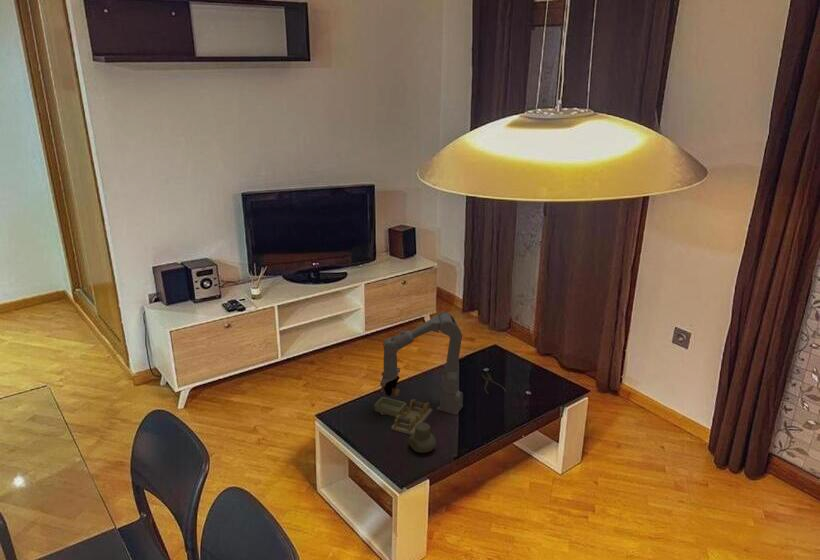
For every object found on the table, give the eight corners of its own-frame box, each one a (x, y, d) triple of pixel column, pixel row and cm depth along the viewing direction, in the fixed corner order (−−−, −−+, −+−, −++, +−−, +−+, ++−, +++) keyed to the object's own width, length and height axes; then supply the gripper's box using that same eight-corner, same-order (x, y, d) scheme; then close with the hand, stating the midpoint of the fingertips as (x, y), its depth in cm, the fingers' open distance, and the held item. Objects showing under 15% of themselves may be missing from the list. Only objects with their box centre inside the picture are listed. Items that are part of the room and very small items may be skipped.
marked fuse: (399, 394, 267) (399, 388, 266) (396, 397, 264) (396, 391, 263) (384, 389, 270) (384, 384, 269) (380, 392, 267) (380, 387, 266)
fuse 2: (428, 407, 267) (428, 401, 265) (425, 411, 265) (425, 406, 263) (412, 402, 270) (412, 397, 268) (409, 407, 268) (409, 402, 266)
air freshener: (438, 451, 242) (439, 430, 238) (421, 458, 238) (421, 436, 234) (423, 438, 250) (423, 416, 247) (406, 444, 246) (406, 422, 243)
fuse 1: (414, 424, 255) (415, 417, 254) (411, 427, 253) (412, 421, 252) (398, 419, 258) (398, 413, 257) (395, 422, 256) (395, 416, 255)
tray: (406, 408, 271) (406, 402, 270) (398, 417, 264) (398, 411, 263) (382, 402, 275) (382, 396, 274) (373, 411, 269) (373, 405, 268)
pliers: (489, 395, 281) (469, 375, 299) (489, 396, 282) (469, 376, 299) (508, 391, 285) (486, 371, 302) (508, 392, 285) (486, 373, 303)
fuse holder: (432, 411, 269) (432, 402, 267) (412, 435, 252) (412, 426, 250) (412, 406, 273) (412, 397, 271) (391, 429, 256) (391, 420, 254)
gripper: (389, 356, 270) (389, 384, 275) (373, 370, 258) (374, 399, 262) (404, 360, 267) (404, 387, 272) (388, 374, 255) (388, 403, 259)
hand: (390, 393), depth 267 cm, fingers closed on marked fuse, 2 cm apart
